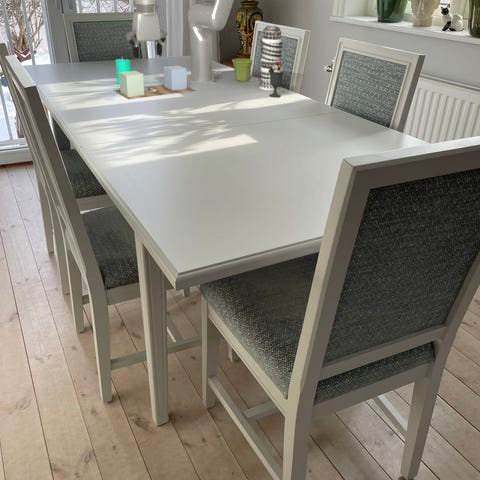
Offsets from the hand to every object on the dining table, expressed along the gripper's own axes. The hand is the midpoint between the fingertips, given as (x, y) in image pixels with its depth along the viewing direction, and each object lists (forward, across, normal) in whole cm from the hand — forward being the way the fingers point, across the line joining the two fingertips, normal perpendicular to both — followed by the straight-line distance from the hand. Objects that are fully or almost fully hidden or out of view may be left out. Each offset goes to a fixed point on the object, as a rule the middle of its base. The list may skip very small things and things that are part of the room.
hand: (148, 56), depth 203 cm
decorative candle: (+15, -50, +15) cm, 54 cm away
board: (+14, -2, +1) cm, 15 cm away
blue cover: (+14, -12, 0) cm, 18 cm away
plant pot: (+15, -48, -3) cm, 50 cm away
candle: (+15, +4, -16) cm, 22 cm away
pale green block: (+13, +9, +2) cm, 16 cm away
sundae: (+15, -44, +27) cm, 53 cm away
